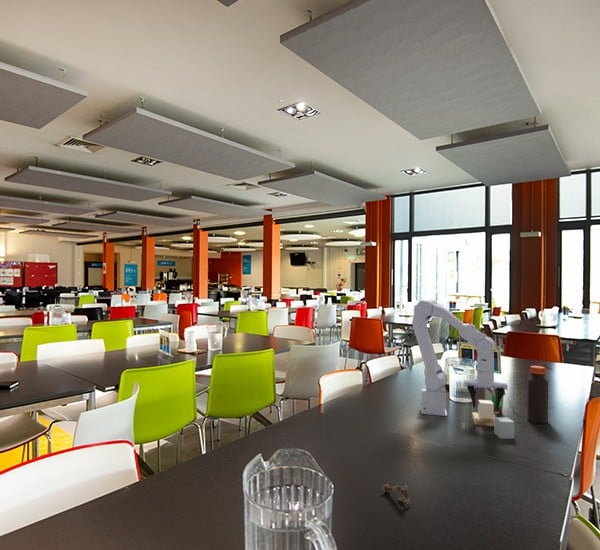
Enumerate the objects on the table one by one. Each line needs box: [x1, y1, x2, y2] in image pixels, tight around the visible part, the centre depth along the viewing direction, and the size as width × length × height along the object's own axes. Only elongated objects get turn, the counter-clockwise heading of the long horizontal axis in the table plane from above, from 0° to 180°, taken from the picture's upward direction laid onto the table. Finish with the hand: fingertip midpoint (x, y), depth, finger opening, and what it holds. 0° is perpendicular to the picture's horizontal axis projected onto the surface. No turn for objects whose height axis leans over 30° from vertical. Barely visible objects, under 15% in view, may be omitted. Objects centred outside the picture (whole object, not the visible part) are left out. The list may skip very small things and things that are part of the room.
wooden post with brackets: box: [381, 483, 411, 506], centre depth 99 cm, size 2×8×4 cm, turn 31°
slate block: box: [493, 416, 515, 440], centre depth 140 cm, size 4×4×6 cm
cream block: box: [477, 399, 494, 419], centre depth 153 cm, size 4×4×6 cm
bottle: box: [526, 365, 549, 425], centre depth 155 cm, size 7×7×20 cm
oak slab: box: [471, 411, 497, 427], centre depth 154 cm, size 8×8×2 cm
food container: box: [484, 388, 506, 417], centre depth 164 cm, size 12×6×10 cm, turn 168°
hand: (485, 407), depth 154 cm, fingers open, 7 cm apart
